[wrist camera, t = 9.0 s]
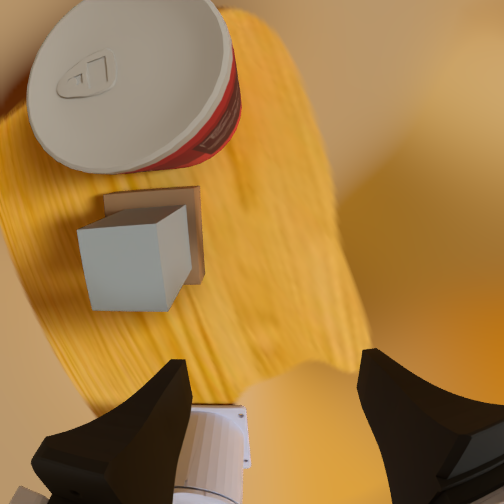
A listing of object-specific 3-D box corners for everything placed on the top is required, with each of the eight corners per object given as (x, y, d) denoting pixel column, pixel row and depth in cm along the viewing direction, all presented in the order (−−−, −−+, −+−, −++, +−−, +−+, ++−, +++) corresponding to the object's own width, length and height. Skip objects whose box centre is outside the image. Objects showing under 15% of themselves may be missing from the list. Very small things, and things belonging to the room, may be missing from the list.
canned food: (109, 96, 18) (8, 58, 8) (212, 40, 18) (178, -55, 7) (154, 190, 20) (65, 218, 10) (262, 135, 19) (273, 101, 9)
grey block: (192, 268, 20) (168, 311, 14) (133, 270, 20) (92, 310, 14) (185, 204, 19) (156, 223, 13) (124, 209, 19) (76, 229, 13)
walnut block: (205, 271, 22) (200, 284, 20) (127, 272, 22) (114, 284, 20) (200, 185, 21) (194, 188, 18) (118, 191, 21) (103, 195, 18)
